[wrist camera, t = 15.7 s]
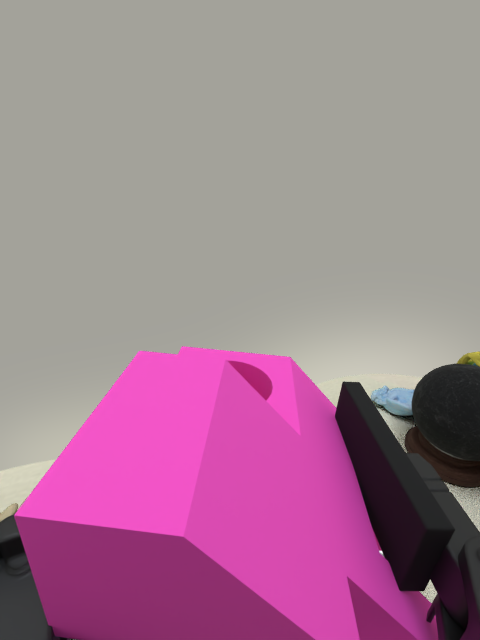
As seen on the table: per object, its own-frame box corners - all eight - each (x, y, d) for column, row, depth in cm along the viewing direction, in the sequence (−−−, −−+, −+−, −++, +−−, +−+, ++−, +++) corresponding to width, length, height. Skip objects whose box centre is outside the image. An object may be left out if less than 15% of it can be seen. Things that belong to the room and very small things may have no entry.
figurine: (458, 423, 53) (453, 386, 52) (383, 434, 55) (376, 399, 54) (437, 401, 61) (431, 368, 59) (371, 412, 63) (365, 381, 62)
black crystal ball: (381, 426, 54) (406, 347, 48) (451, 423, 56) (483, 347, 50) (435, 496, 42) (477, 403, 36) (521, 490, 44) (575, 400, 38)
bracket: (92, 766, 9) (13, 515, 5) (182, 465, 18) (181, 295, 14) (541, 837, 8) (882, 624, 4) (395, 490, 18) (458, 320, 14)
